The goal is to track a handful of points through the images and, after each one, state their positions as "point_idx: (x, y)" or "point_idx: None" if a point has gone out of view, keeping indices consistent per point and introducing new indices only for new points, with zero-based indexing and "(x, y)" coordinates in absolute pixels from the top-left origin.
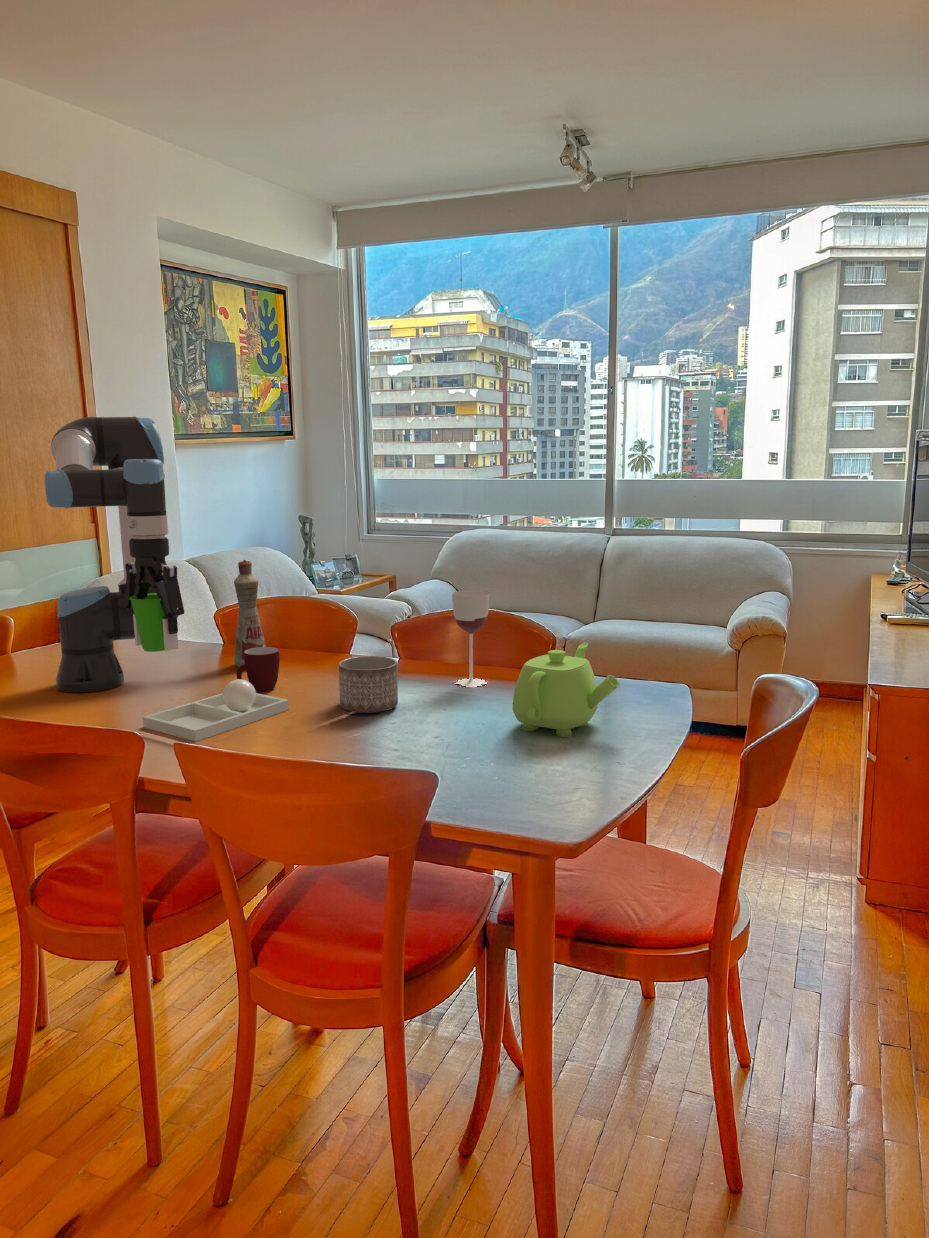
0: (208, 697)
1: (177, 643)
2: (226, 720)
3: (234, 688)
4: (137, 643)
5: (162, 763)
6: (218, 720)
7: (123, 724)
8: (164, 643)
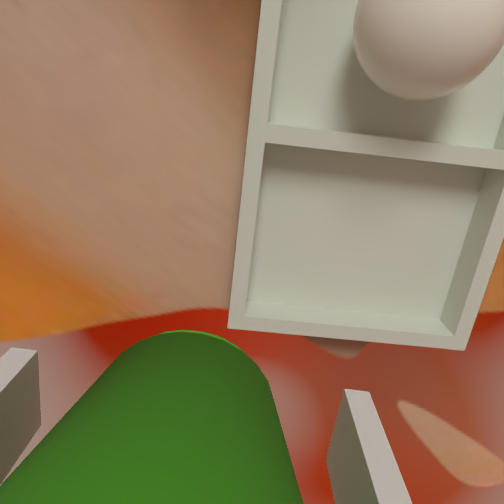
0: (257, 43)
1: (378, 421)
2: (501, 240)
3: (463, 75)
4: (32, 435)
5: (444, 434)
6: (394, 162)
7: (128, 290)
8: (336, 498)
